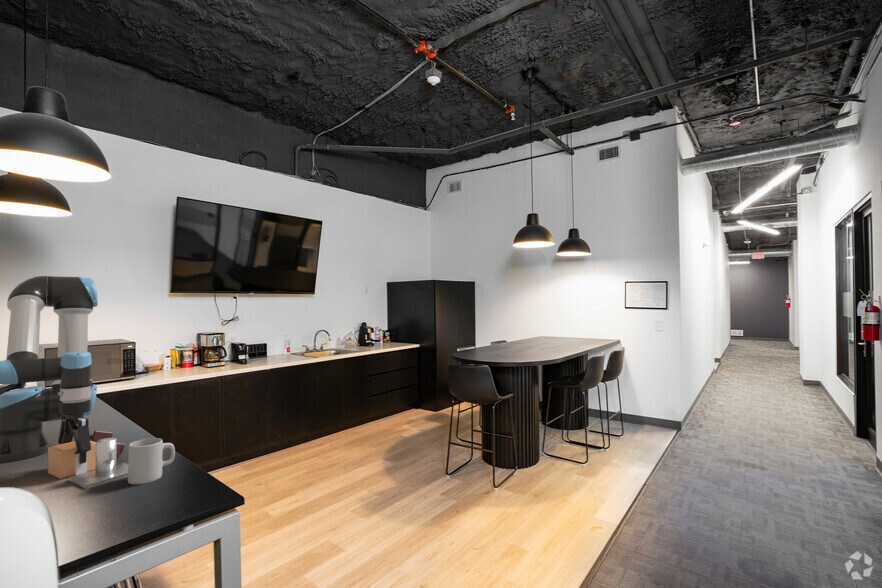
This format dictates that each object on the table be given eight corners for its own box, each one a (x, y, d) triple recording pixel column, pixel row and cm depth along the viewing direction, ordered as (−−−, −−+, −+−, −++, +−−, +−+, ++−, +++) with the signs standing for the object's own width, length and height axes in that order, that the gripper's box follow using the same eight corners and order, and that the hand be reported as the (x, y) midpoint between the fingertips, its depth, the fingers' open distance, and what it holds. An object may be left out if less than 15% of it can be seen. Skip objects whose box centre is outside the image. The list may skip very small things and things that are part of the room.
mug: (131, 487, 121) (132, 448, 122) (124, 479, 127) (125, 442, 127) (178, 475, 130) (179, 439, 130) (170, 468, 136) (171, 433, 136)
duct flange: (68, 480, 126) (69, 443, 127) (123, 465, 138) (123, 431, 139) (85, 489, 120) (86, 450, 121) (140, 472, 132) (141, 437, 133)
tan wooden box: (47, 472, 133) (48, 447, 133) (84, 463, 141) (85, 438, 141) (59, 478, 128) (60, 452, 128) (97, 468, 136) (98, 443, 136)
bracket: (107, 458, 138) (114, 426, 142) (67, 465, 141) (76, 434, 146) (125, 459, 143) (131, 428, 147) (86, 465, 147) (94, 436, 151)
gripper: (46, 398, 138) (44, 466, 137) (75, 406, 126) (73, 481, 125) (75, 394, 144) (73, 459, 144) (105, 402, 132) (103, 472, 132)
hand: (73, 469), depth 134 cm, fingers open, 11 cm apart
